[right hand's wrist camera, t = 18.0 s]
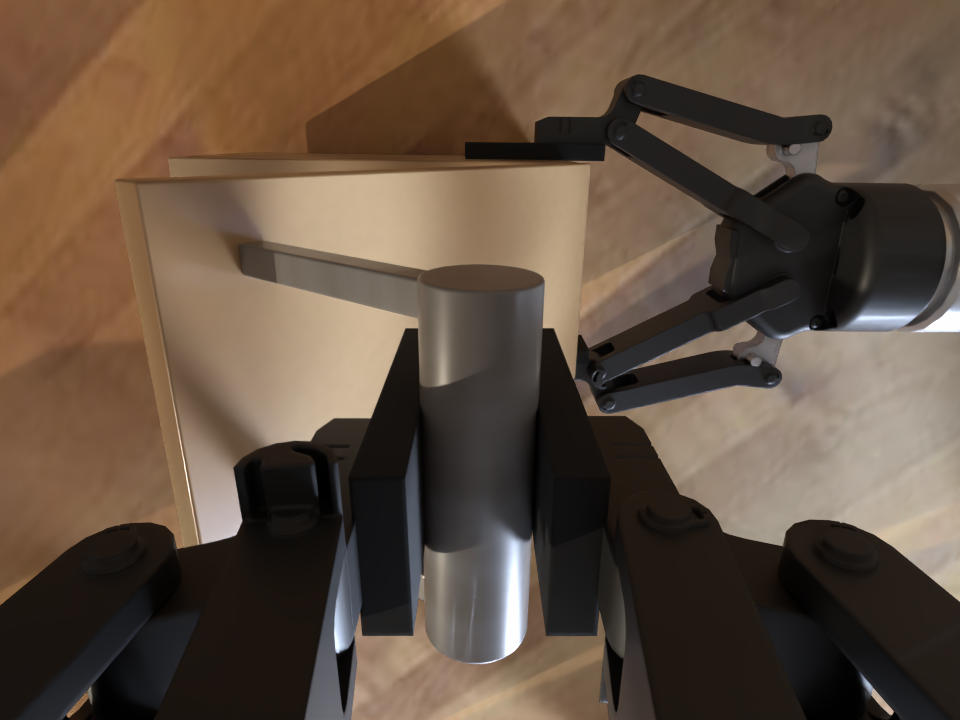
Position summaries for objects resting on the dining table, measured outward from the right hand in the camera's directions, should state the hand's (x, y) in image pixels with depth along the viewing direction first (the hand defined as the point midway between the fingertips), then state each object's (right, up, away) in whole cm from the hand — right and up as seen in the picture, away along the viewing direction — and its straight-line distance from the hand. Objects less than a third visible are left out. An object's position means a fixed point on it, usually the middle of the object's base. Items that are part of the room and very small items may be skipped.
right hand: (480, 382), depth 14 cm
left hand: (-1, +6, +16) cm, 17 cm away
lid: (-2, +2, +5) cm, 6 cm away
